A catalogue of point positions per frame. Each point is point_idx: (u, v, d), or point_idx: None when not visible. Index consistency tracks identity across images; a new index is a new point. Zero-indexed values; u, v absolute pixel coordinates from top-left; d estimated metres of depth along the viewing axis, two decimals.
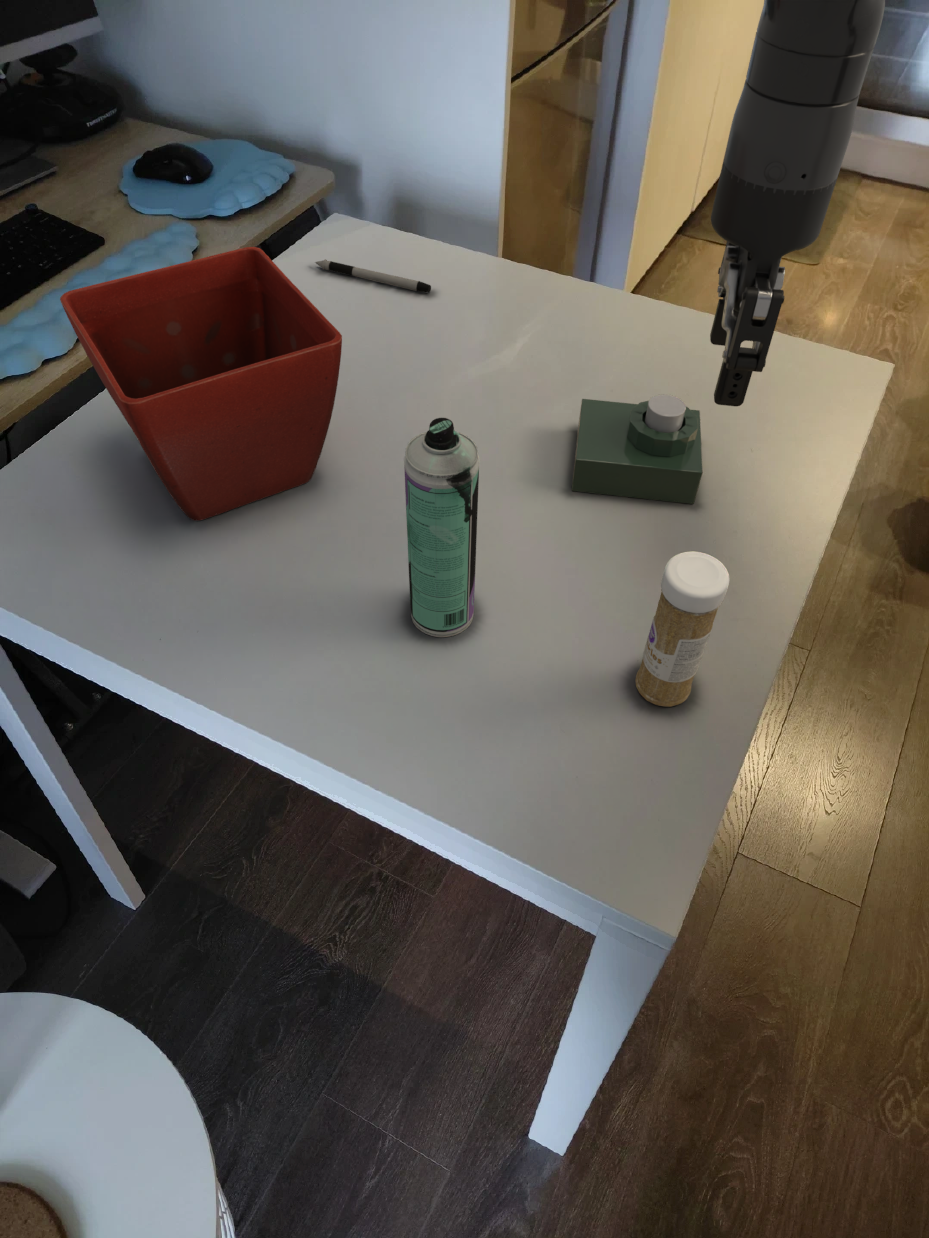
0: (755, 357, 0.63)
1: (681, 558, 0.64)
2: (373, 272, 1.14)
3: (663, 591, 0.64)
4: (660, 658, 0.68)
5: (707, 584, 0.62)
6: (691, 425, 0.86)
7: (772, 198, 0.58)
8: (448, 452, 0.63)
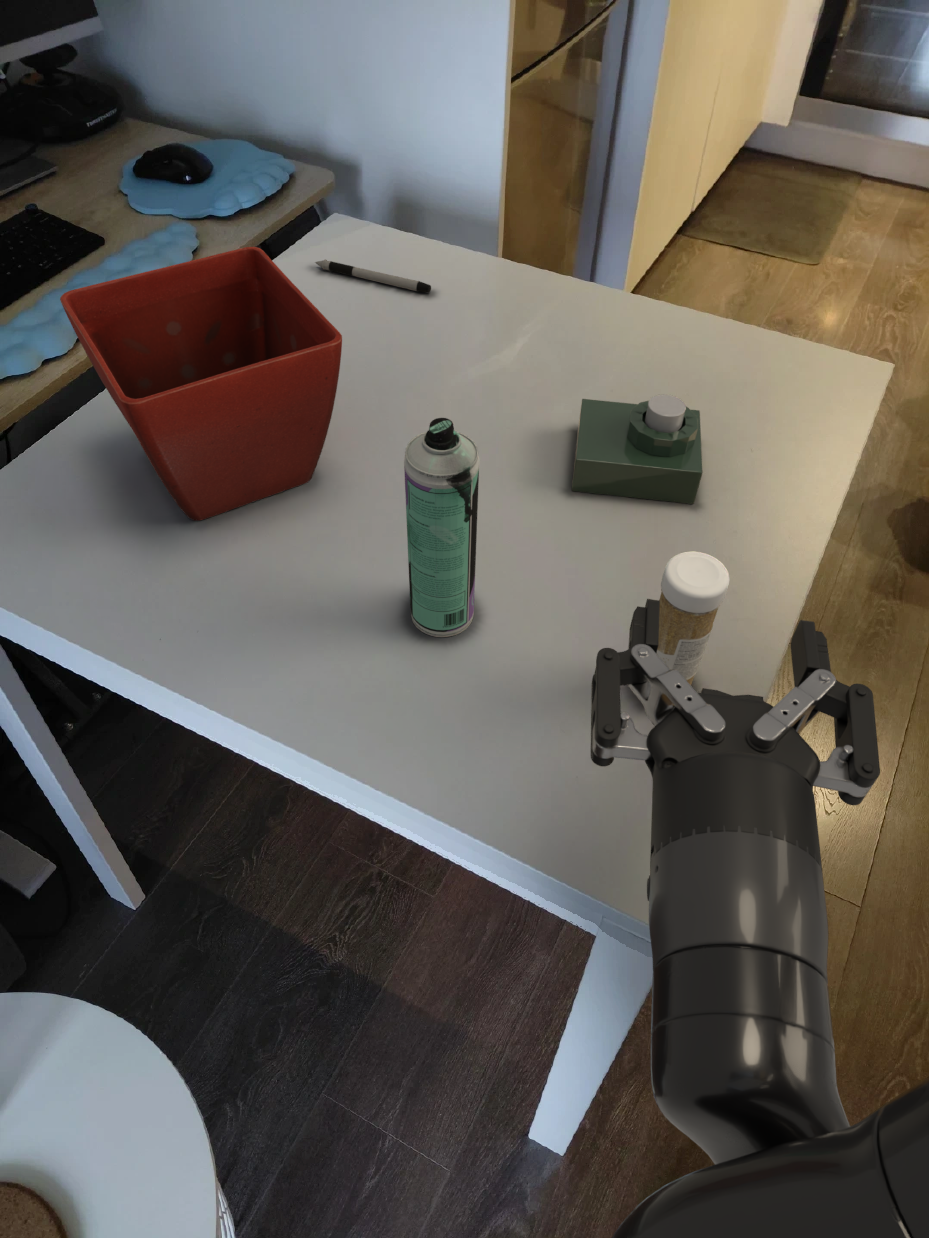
0: None
1: (681, 558, 0.64)
2: (373, 272, 1.14)
3: (663, 591, 0.64)
4: None
5: (707, 584, 0.62)
6: (691, 425, 0.86)
7: None
8: (448, 452, 0.63)
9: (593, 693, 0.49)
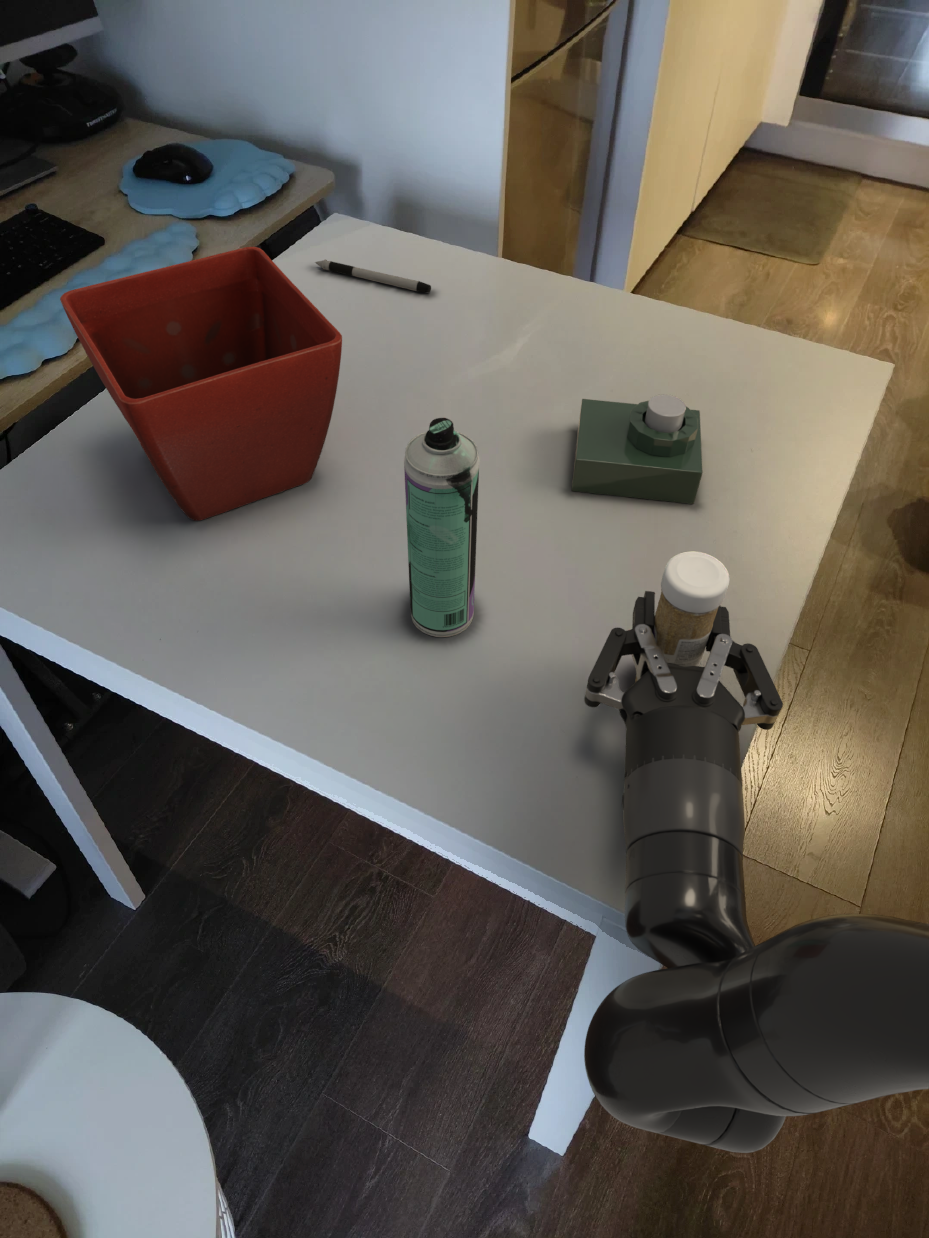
0: None
1: (681, 558, 0.64)
2: (373, 272, 1.14)
3: (663, 591, 0.64)
4: None
5: (707, 584, 0.62)
6: (691, 425, 0.86)
7: None
8: (448, 453, 0.63)
9: None
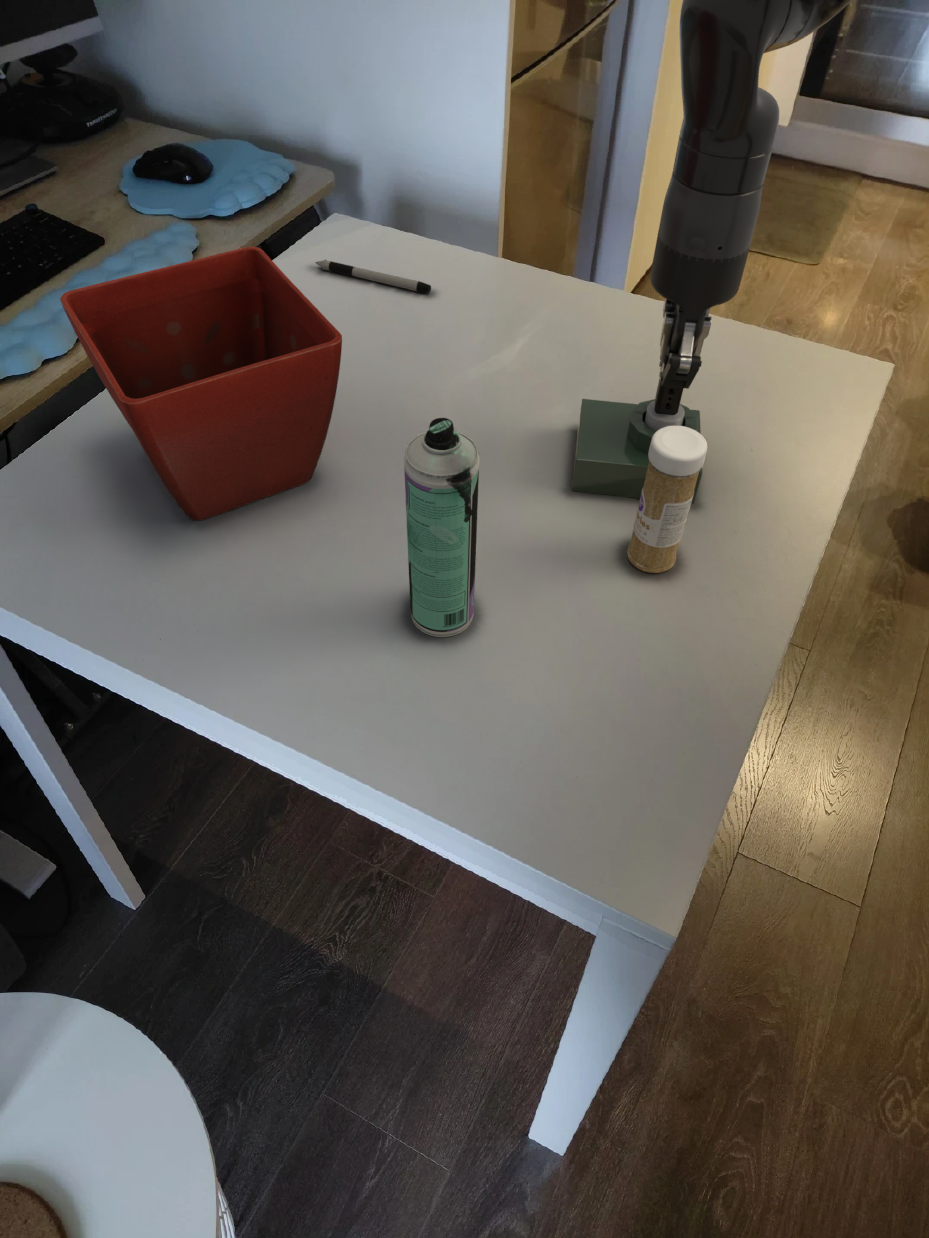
0: None
1: (666, 430, 0.74)
2: (373, 272, 1.14)
3: (650, 459, 0.74)
4: (648, 524, 0.78)
5: (688, 450, 0.72)
6: (691, 425, 0.86)
7: (695, 264, 0.72)
8: (448, 453, 0.63)
9: None
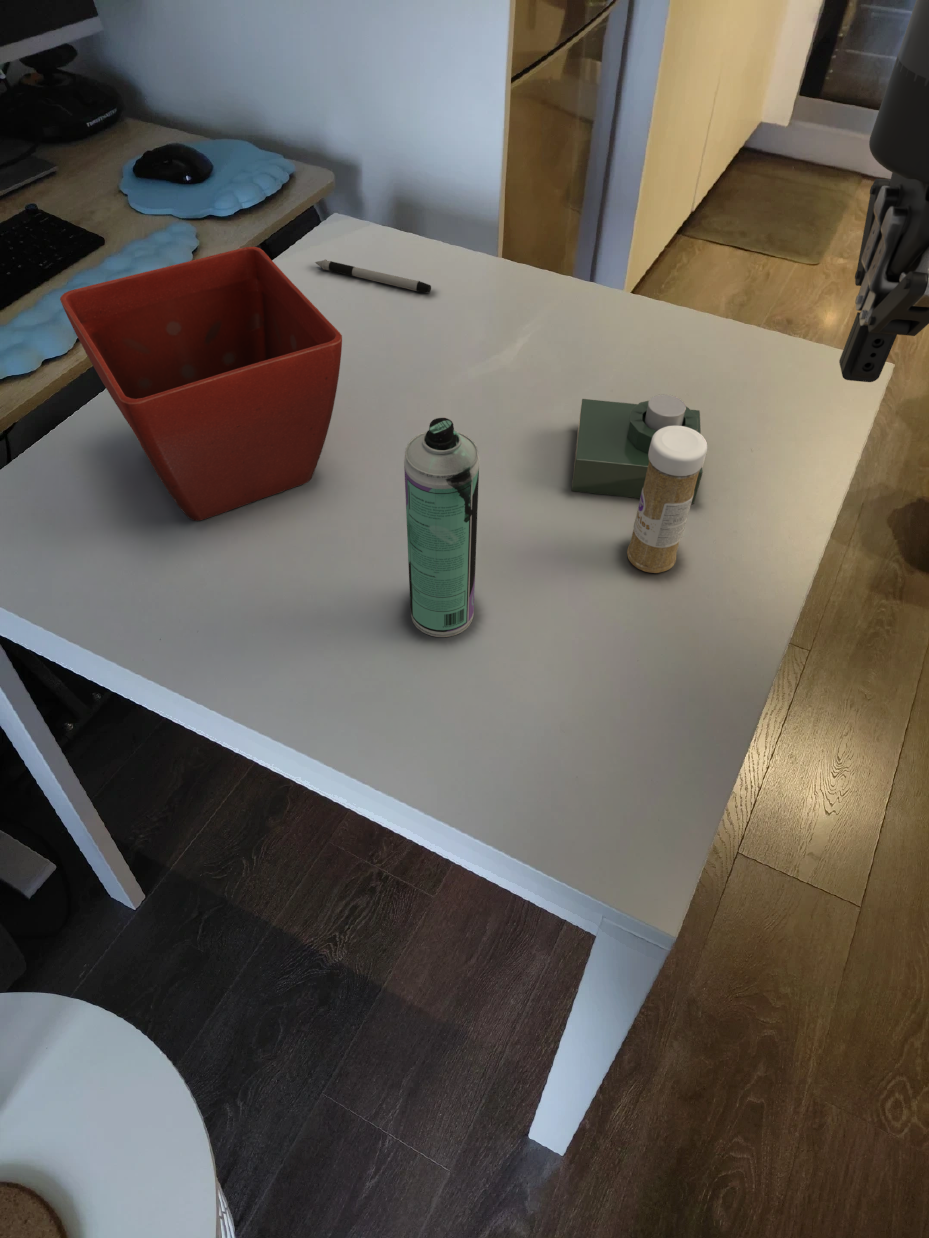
0: None
1: (666, 430, 0.74)
2: (373, 272, 1.14)
3: (650, 459, 0.74)
4: (648, 524, 0.78)
5: (688, 450, 0.72)
6: (691, 425, 0.86)
7: None
8: (448, 453, 0.63)
9: None
